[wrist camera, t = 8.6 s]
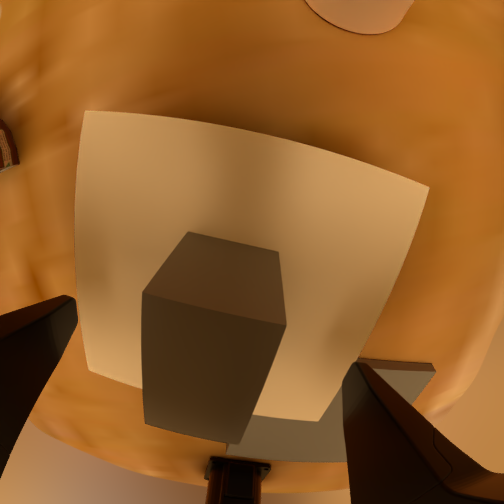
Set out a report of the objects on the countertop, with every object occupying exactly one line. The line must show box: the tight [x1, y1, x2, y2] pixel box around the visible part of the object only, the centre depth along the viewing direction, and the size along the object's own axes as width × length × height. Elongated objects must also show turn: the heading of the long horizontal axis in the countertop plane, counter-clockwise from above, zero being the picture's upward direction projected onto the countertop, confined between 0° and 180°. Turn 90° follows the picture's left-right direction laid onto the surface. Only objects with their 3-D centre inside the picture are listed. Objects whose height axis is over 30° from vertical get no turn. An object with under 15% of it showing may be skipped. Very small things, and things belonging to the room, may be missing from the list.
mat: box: [226, 358, 436, 462], centre depth 20 cm, size 14×14×1 cm
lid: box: [74, 111, 430, 445], centre depth 9 cm, size 12×12×5 cm
